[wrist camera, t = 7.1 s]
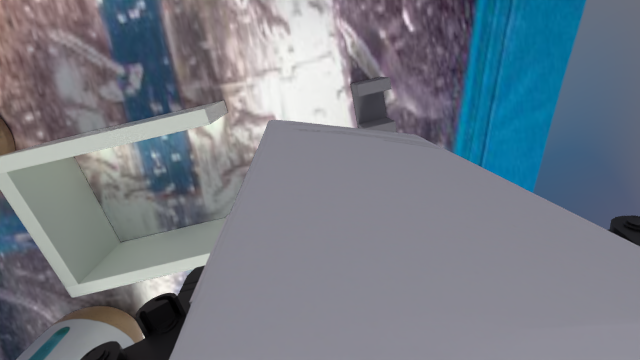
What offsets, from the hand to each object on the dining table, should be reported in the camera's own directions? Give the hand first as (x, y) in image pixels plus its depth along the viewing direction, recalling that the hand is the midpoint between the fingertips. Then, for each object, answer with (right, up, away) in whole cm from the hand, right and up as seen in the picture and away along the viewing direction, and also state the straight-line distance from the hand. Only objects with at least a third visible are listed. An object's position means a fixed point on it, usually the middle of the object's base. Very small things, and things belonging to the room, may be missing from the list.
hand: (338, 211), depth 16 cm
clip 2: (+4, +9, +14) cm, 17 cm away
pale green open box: (-17, +2, +15) cm, 23 cm away
